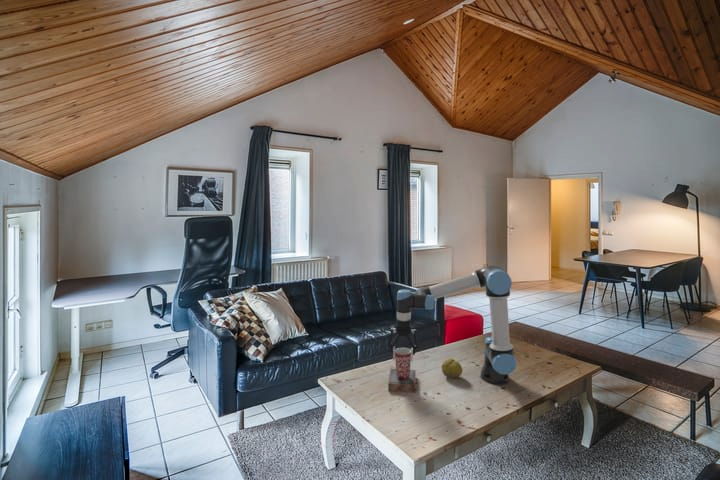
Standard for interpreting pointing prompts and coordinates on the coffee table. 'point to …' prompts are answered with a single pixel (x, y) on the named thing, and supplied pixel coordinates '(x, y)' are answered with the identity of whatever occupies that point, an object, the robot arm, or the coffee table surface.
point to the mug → (403, 362)
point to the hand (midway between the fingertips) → (402, 359)
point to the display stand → (402, 382)
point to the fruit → (451, 368)
